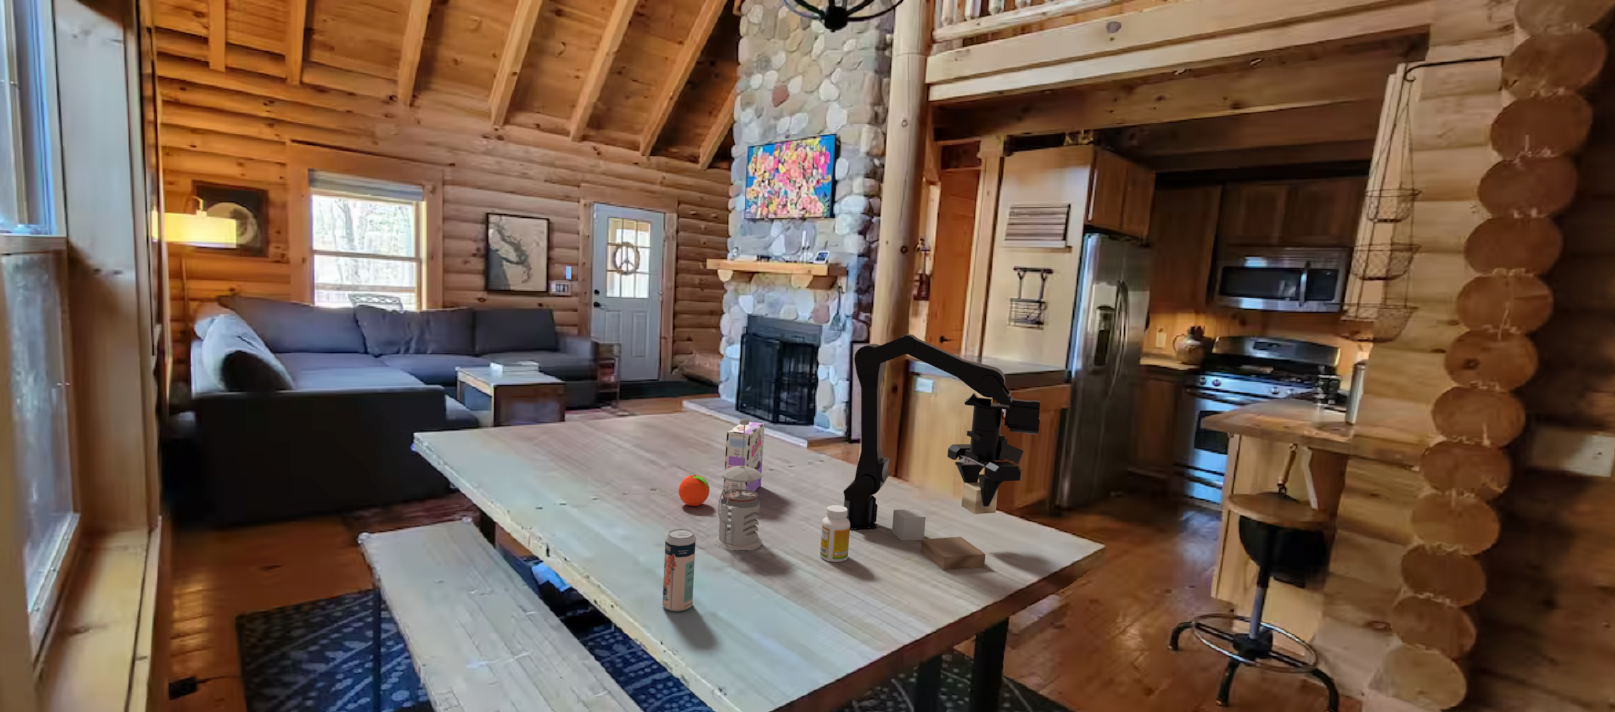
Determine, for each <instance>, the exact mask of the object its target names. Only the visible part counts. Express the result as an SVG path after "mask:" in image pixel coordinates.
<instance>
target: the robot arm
mask: <svg viewBox="0 0 1615 712" xmlns="http://www.w3.org/2000/svg"><path fill="white" fill-rule="evenodd" d="M903 355H908V356H910V357H912V358H914V359H917V360H919V361H921V362H923V363H926V364H928V365H930V366H931V367H934V368H937V369H938V370H941V371H943V372H945V373H947V374H950V375H951V376H953V377H955V378H957V379H959V380H961V381H962V382H963V383H964V384H965V385H966V386H968V387H969V388H970V389H972V390H974V392H973V393H972V394H971V396H970V397H968V398H966V399H965V401H964V403H963V404H964V405H965V406H969V407H970V406H971V407H973V411H972V421H971V422H972V423H971V430H967V431H966V436H967V437H970V443H966V444H965V443H964V444H963V443H962V444H961V443H957V444H954V443H953V444H951V445H950V446H949V447H948V448H947V458H948V459H951V460H952V461H955V462H954V464H955V465H956V467H957V469H958V472H959V474H960V476H961V479H962V482H963V484H964V483H974V482H979V483H980V489H981V496H982V501H983V506H985V507H988V506H989V505H990V503H991V501H992V499H993V497H994V495H995V493H996V491H997V489H998V490H999V487H1000V485H1001V484H1002V483H1003V482H1015V481H1016V482H1018V481H1021V480H1022V473H1023V471H1022V469H1021V468H1020V466H1019V465H1020V461H1021V460H1022V457H1023V455H1024V453H1025V451H1024V449H1021V448H1018V447H1016V446H1013V445H1011V444H1009V443H1008V438H1006V437H1005V435H1003V434H1002V433H1001V429H1002V428H1001V427H1002V418H1003V410H1005V415H1004V424H1003V425H1004V427H1006V428H1007V429H1009V432H1011V433H1021V434H1028V435H1034V436H1035V435H1036V436H1038V435H1039V430H1040V423H1041V418H1040V417H1041V416H1040V410H1041V401H1040V400H1036V399H1035V400H1033V399H1032V400H1029V399H1028V400H1026V399H1017V398H1014V397H1013V396H1012V393H1011V392H1010V390H1009V389H1008V387H1007V386H1006V376H1005V374H1004V372H1003V370H1001V369H1000V368H999V367H996V366H993V365H989V364H985V363H981V362H976V361H971V360H968V359H964V358H962V357H960V356H958V355H955V354H953V353H951V352H949V351H947V350H945V349H942V348H940V347H939V346H938V347H937V346H935V345H934V344H931V343H929V342H927V341H925V340H923V339H920V338H918V337H917V336H915V335H914V334H911V333H907V334H904V335H902V336H900V337H899V338H896V339H893V340H892V341H888V342H885V343H882V344H881V345H880V344H878V343H870V344H866V345H863V346H862V347H859V348H858V349H857V350H856V352H855V353H854V360H853V361H854V366H855V367H854V368H855V372H856V377H857V379H858V382H859V385H860V438H861V439H860V454H859V458H858V461H857V465H856V470H855V475H854V480H852V482H850V484H849V485H847V487H846V488H845V489H844V490H843V495H844V501H843V506H844V507H846V508H847V509H848V512H847V517H846V518H847V519H848V520H849V522H850V530H861V529H862V530H863V529H877V528H878V524H876V522H877V517H878V506H879V505H878V504H877V497H875V496H874V495H876V494H877V493H878V492H879V491H880V490H881V488H882V487H883V486H884V484H885V483H886V481H887V479H888V478H889V477H890V476H891V473H890V470H889V465H890V457H884V456H883V453H882V450H881V448H882V447H881V446H882V445H881V442H882V441H881V430H882V429H881V427H882V426H881V422H882V418H881V413H882V411H881V407H882V405H881V404H882V403H881V402H882V401H881V400H882V399H881V395H882V394H881V388H882V387H881V386H882V383H883V380H884V375H885V371H886V366H887V362H888V361H890V360H893V359H897V358H898V357H900V356H903ZM975 392H976V393H975ZM977 394H979V395H980V396H982V397H979V396H978V395H977ZM993 400H995V401H996V403H995V402H993ZM956 460H958V461H956ZM1005 460H1007V461H1005ZM1012 462H1013V463H1012ZM983 469H984V474H982V473H981V472H982V470H983ZM980 473H981V474H980Z"/></svg>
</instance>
